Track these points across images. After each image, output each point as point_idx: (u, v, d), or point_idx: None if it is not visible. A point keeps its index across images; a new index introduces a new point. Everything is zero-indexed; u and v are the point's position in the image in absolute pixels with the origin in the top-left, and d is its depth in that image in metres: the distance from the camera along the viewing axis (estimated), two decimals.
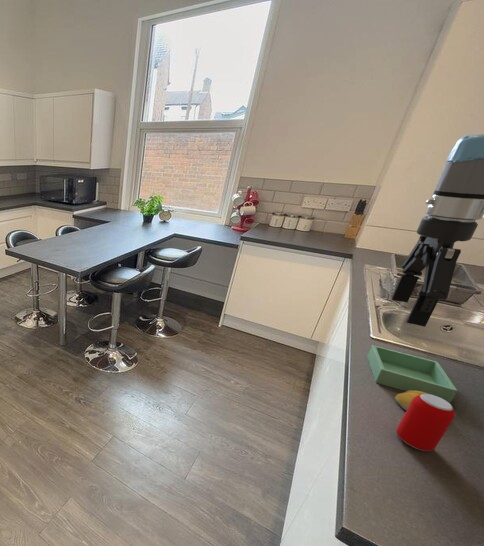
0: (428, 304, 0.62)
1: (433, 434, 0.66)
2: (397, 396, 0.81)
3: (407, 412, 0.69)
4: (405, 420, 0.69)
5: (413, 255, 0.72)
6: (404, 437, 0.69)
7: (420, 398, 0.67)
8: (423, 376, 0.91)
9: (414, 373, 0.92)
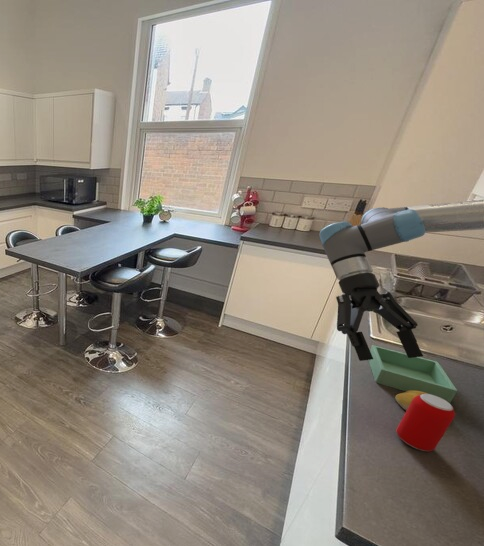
0: (352, 338, 0.75)
1: (433, 434, 0.66)
2: (397, 396, 0.81)
3: (407, 412, 0.69)
4: (405, 420, 0.69)
5: None
6: (404, 437, 0.69)
7: (420, 398, 0.67)
8: (423, 376, 0.91)
9: (414, 373, 0.92)
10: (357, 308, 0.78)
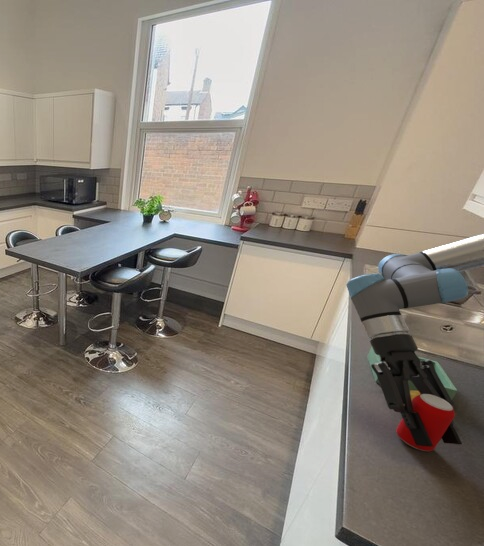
0: (406, 419, 0.67)
1: (433, 434, 0.66)
2: None
3: None
4: None
5: None
6: (404, 437, 0.69)
7: (420, 397, 0.67)
8: None
9: None
10: (399, 378, 0.70)
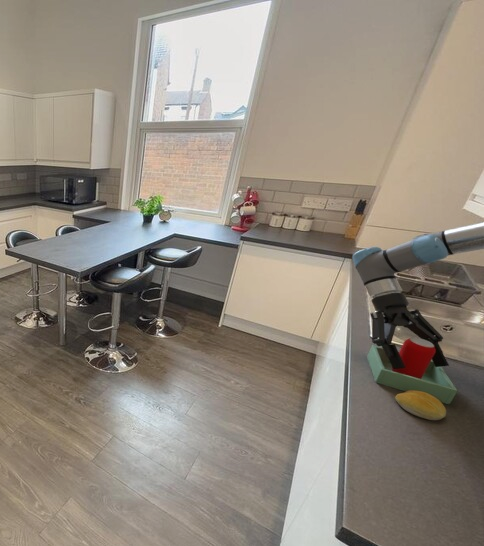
0: (386, 350, 0.88)
1: (419, 367, 0.86)
2: (397, 396, 0.81)
3: (399, 352, 0.89)
4: None
5: None
6: (397, 372, 0.90)
7: (409, 340, 0.87)
8: (423, 376, 0.91)
9: None
10: (389, 323, 0.90)
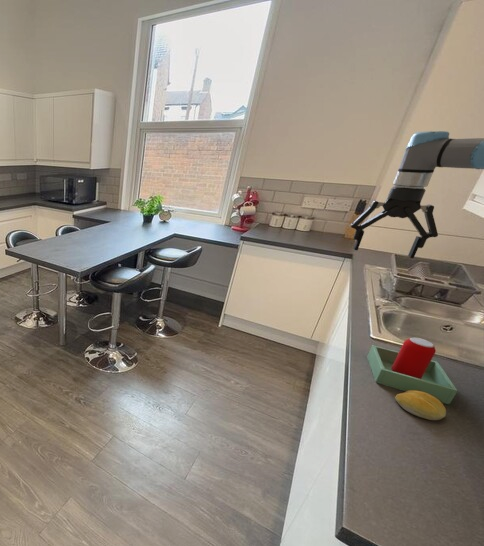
0: (355, 233, 1.05)
1: (419, 367, 0.86)
2: (397, 396, 0.81)
3: (399, 352, 0.89)
4: (398, 358, 0.90)
5: (426, 221, 0.95)
6: (397, 372, 0.90)
7: (409, 340, 0.87)
8: (423, 376, 0.91)
9: None
10: (380, 214, 0.99)
